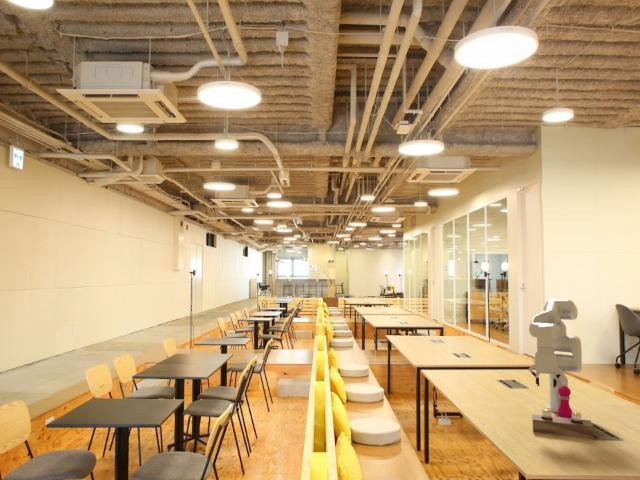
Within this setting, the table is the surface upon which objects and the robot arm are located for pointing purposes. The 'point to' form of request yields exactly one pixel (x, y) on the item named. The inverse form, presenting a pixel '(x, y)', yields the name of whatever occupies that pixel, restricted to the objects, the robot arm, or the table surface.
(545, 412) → the peg
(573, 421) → the peg
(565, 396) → the pepper mill
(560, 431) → the collar block
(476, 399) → the table surface
